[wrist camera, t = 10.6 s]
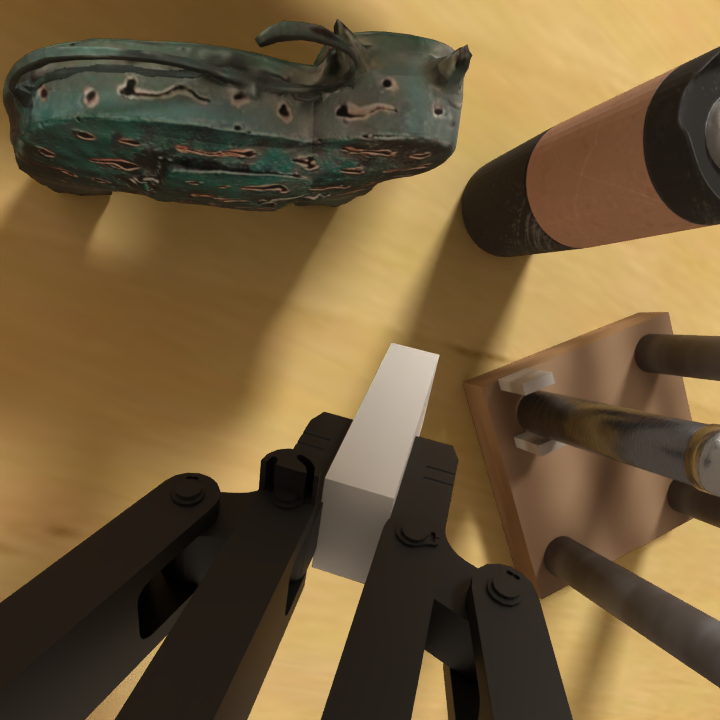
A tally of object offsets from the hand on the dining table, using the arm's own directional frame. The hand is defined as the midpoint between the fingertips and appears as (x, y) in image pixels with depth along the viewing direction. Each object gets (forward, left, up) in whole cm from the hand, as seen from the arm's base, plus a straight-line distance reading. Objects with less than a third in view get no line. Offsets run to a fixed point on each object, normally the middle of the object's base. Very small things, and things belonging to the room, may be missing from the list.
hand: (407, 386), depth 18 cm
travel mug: (-17, +11, -23) cm, 30 cm away
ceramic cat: (-8, -8, -23) cm, 25 cm away
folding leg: (-4, +17, -18) cm, 25 cm away
